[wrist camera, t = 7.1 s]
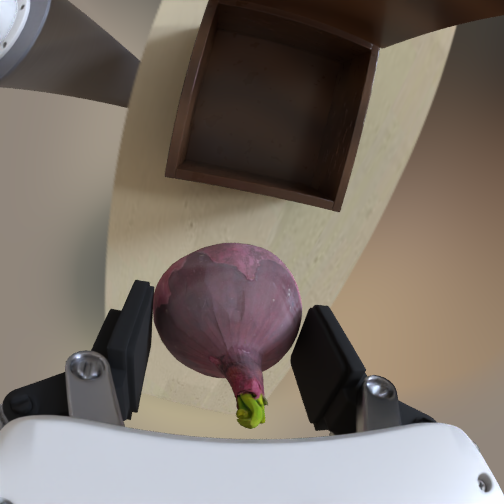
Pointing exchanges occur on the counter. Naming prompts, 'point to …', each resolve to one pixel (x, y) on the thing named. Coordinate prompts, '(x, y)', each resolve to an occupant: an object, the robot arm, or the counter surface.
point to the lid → (389, 15)
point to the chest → (272, 105)
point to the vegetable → (230, 317)
